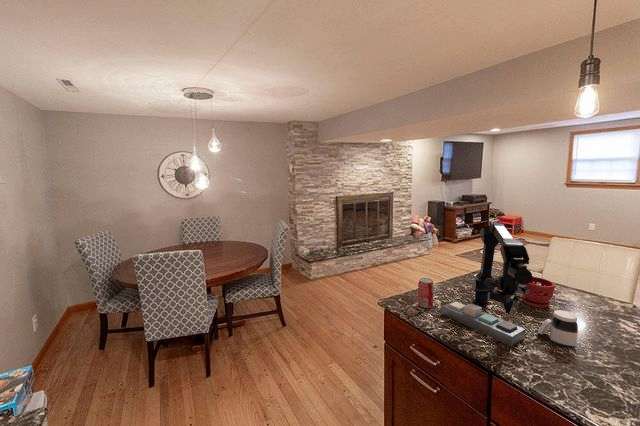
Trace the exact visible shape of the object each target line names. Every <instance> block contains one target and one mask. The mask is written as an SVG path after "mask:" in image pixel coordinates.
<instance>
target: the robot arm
mask: <svg viewBox="0 0 640 426" xmlns="http://www.w3.org/2000/svg"><path fill="white" fill-rule="evenodd" d="M479 236H480V240H481V241H482V243H483V247H482V256H481V264H480V271H478V273H477V274H476V275H475V279H474V280H473V281H472V283H471V289H472V290H473V292H474V293H475V294H474V295H475V296H474V299H472V301H471V302H472V303H473V304H474V303H475V304H476V305H480V306H482V307H487V306H489V305H491V304H492V301H495V302H498V303H500V304H503V307H504V311H505V314H508V315H510V314H511V313H512V311H513V310H514V308H515V307H516V306H517V304H518V303H519V302H520V300H521V298H522V297H521V296H522V295H521V296H520V295H519V294H518V293H520V292H521V293H522V291H523V292H524V294H525V295H526V294H529V290H530V289H529V287H528V286H526V284H528V283H530V282H531V281H532V278H533V277H534V276H533V273H532V272H531V271H530V270H529V269H528V266H527V265H530V260H531V259H530V256H529V253H528V250H527V247H526V246H525V244H524V243H522V242H521V241H520V240H517V239H514V238H513V236H512V235H511V234H510V232H509V231H508V229H506V226H505V224H504V223H494V222H493V223H490V224H489V225H486V226H484V227H482V228H481V229H480V232H479ZM498 245H500V250H499V252H500V254H501V257H502V261H503V262H502V274H501V276H499V277H494V278H493V276H492V272H493V264H494V258H495V257H494V256H495V252H496V251H495V250H496V247H497V246H498ZM496 288H497V289H496ZM489 299H490V300H492V301H489Z"/></svg>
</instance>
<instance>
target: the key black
mask: <svg viewBox="0 0 640 426" xmlns="http://www.w3.org/2000/svg"><path fill="white" fill-rule="evenodd" d="M517 326H518V325H516V324H514V325H513V323H512V324H511V322H509V323H508V321H507V322H506V320H504V321H502V322H500V323H498V324H497V328H499V329H502V330H504V331H506V332H509V333H512V332H514V331H516V330H517Z"/></svg>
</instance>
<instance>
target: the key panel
mask: <svg viewBox="0 0 640 426" xmlns="http://www.w3.org/2000/svg"><path fill="white" fill-rule="evenodd" d="M454 302H458V303H461V302H459V301H457V300H455V301H452V302H449V303H447V304H444V305H442V306H441V315H442V316H445V317H447V318H449V319H451V320H454V321H456V323H457V322H458V323H459V324H462V325H464V326H465V327H466V326H467V327H468V328H470V329H473V330H475V331H477V332H479V333H481V334H483V335H486V336H487V337H490V338H492V339H493V340H496V341H497V342H498V341H499V342H501V343H503V344H505V345H507V346H509V347H510V348H511V347H513V346H515V345H516V344H518V343H520V342H522V341H523V340H525V338H526V337H525V336H526V329H525V328H523V327H521V326H519V325H516V326H517V330H516V331H514V332H512V333H509V332H506V331H504V330H502V329H499V328H497V324H498V323H500V322H502V321H506V320H504V319H502V318H499V317H496V316H494V315H491V314H489V313H487V312H484V311H482V314H481V316H482V315H484V314H488V315H491V316H493V317H496V318H498V323H496V324H494V325H490V324H488V323H486V322H483V321H481V320H479V317H480V316H479V317H476V318H474V317H472V316H469V315H467V314H465V313H464V310H462V311H458V310H455V309H453V308H451V307H449V306H450V304H451V303H454ZM461 304H463V305H465V303H461ZM506 322H508V321H506ZM508 323H511V322H508ZM511 324H513V323H511ZM513 325H515V324H513Z"/></svg>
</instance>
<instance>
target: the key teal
mask: <svg viewBox="0 0 640 426" xmlns="http://www.w3.org/2000/svg"><path fill="white" fill-rule="evenodd" d="M488 314H489V313H487V314H484V315H482V316H480V317H479V320H481V321H483V322H486V323H488V324H490V325H494V324H496V323H498V318H499V317H497V318H496V316H494V315H492V316H491V314H489V315H488ZM493 316H494V317H493Z"/></svg>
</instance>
